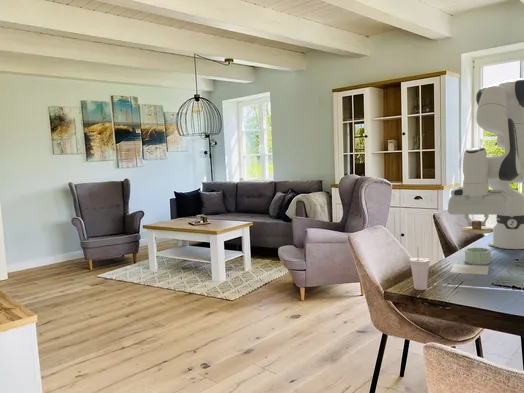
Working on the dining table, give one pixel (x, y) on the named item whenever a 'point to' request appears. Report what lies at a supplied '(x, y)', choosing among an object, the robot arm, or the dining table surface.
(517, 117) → the robot arm
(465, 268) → the mat
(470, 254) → the bowl
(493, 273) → the dining table surface
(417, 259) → the smoothie
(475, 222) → the lid
